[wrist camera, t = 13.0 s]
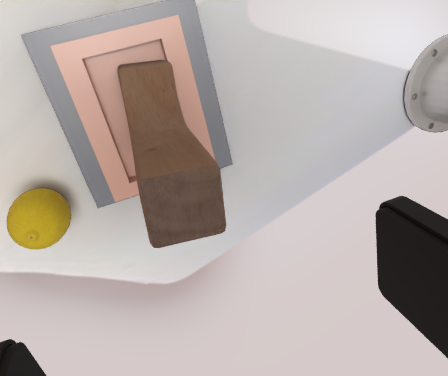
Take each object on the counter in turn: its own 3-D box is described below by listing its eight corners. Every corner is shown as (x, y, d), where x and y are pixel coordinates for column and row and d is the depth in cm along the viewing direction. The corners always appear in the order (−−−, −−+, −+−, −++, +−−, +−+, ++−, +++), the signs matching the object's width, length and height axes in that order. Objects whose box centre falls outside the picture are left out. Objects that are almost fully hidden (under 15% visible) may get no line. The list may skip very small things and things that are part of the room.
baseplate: (190, -5, 34) (201, -12, 30) (229, 160, 42) (242, 174, 38) (24, 35, 32) (9, 33, 27) (98, 202, 40) (96, 222, 35)
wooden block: (116, 64, 32) (115, 87, 16) (165, 59, 33) (211, 74, 17) (136, 157, 35) (151, 252, 19) (179, 149, 36) (228, 234, 20)
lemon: (23, 172, 36) (1, 203, 29) (79, 184, 38) (71, 216, 31) (14, 218, 38) (-10, 259, 31) (68, 227, 40) (58, 267, 33)
